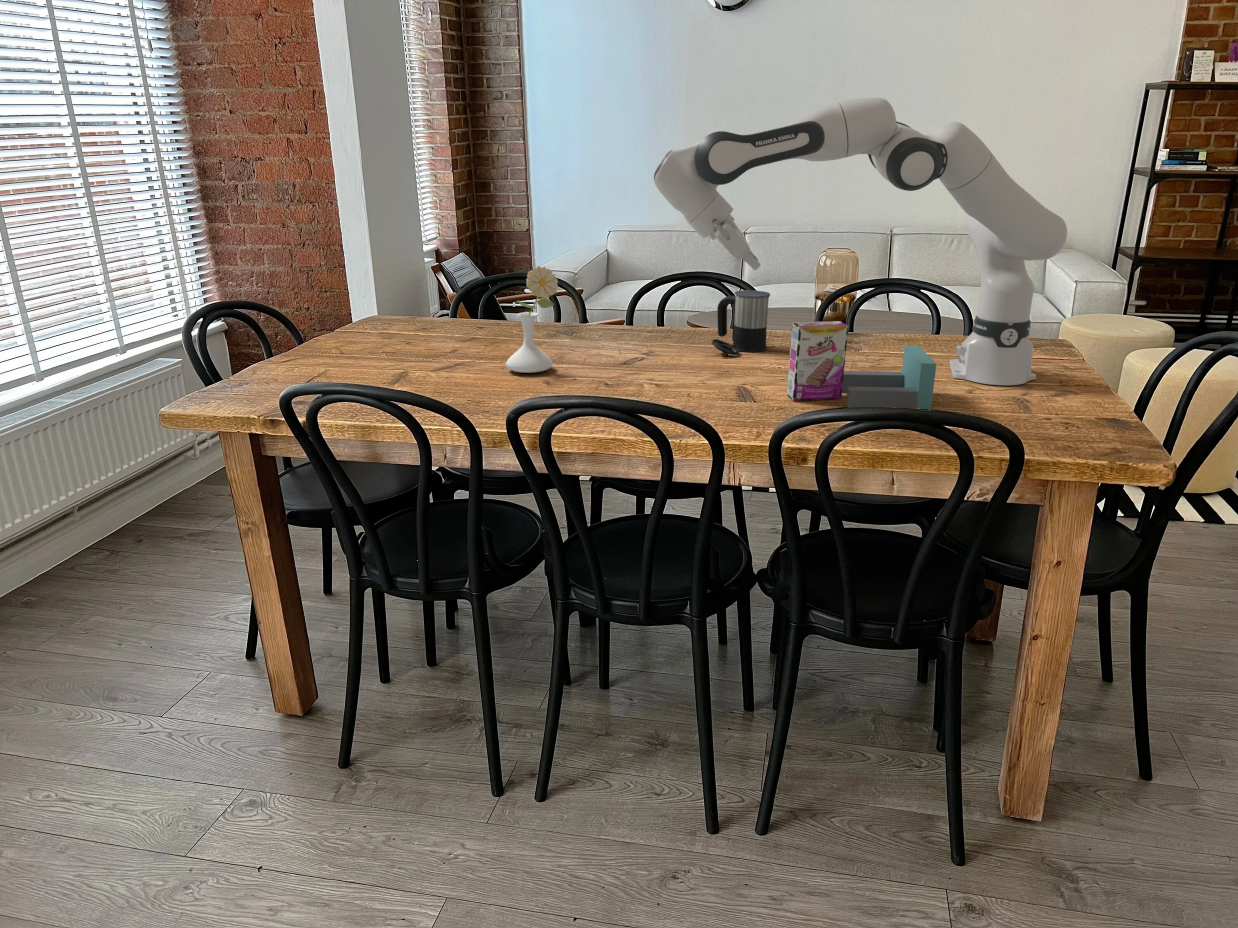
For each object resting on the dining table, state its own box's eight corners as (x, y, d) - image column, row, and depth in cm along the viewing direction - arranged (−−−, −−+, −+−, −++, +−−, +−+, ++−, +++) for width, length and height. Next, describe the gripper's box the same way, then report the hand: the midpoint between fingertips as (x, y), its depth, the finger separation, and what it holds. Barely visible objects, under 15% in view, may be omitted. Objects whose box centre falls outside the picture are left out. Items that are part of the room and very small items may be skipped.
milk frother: (767, 345, 247) (770, 290, 242) (766, 359, 233) (769, 301, 227) (715, 343, 249) (716, 288, 244) (710, 357, 235) (711, 299, 230)
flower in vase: (507, 377, 216) (502, 270, 207) (505, 365, 227) (500, 263, 218) (562, 375, 218) (559, 269, 209) (557, 363, 229) (555, 262, 220)
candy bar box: (793, 402, 197) (798, 326, 191) (785, 395, 201) (790, 321, 196) (843, 399, 199) (849, 324, 193) (834, 393, 203) (840, 320, 198)
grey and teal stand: (836, 388, 207) (840, 344, 204) (913, 389, 206) (918, 345, 202) (848, 408, 192) (852, 362, 189) (930, 410, 191) (936, 363, 187)
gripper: (725, 212, 185) (771, 261, 187) (722, 203, 204) (764, 248, 206) (702, 234, 186) (748, 283, 189) (701, 224, 206) (743, 268, 208)
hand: (756, 265), depth 198 cm, fingers open, 5 cm apart
